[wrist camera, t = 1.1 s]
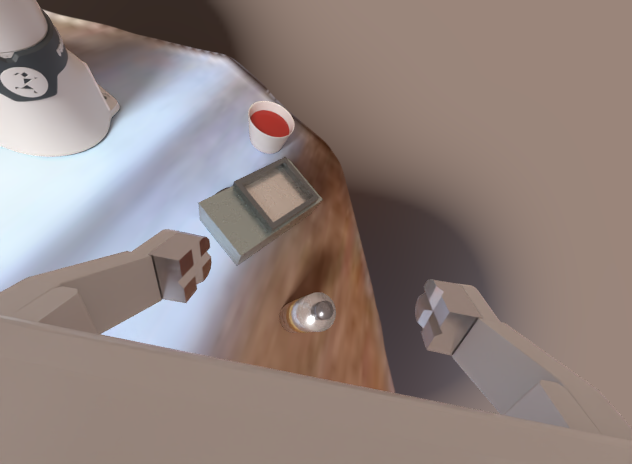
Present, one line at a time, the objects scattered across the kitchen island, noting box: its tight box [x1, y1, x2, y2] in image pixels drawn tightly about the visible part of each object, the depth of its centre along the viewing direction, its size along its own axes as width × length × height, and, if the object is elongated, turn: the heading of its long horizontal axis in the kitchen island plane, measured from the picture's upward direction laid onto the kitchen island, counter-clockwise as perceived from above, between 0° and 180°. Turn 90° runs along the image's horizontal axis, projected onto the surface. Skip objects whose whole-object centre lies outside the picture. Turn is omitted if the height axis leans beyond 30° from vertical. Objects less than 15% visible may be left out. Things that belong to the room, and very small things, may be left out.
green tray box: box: [198, 157, 323, 266], centre depth 41 cm, size 11×18×8 cm, turn 133°
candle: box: [248, 101, 295, 154], centre depth 49 cm, size 9×9×6 cm
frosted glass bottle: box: [279, 292, 336, 333], centre depth 34 cm, size 5×5×13 cm
